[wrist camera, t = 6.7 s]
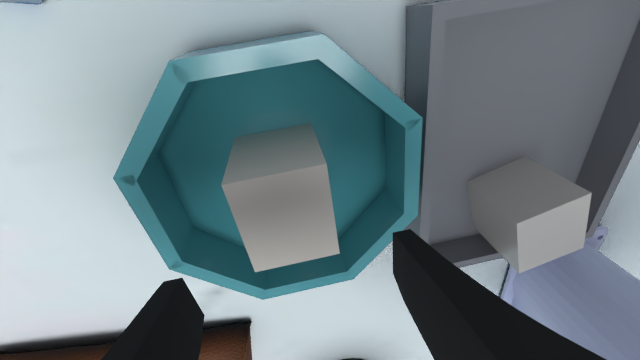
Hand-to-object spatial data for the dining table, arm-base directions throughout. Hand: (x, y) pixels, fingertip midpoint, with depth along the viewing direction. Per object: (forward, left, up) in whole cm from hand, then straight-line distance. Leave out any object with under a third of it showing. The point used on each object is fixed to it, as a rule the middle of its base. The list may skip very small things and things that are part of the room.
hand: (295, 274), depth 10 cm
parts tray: (-1, -14, -8) cm, 16 cm away
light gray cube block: (-5, -14, -7) cm, 17 cm away
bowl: (0, 0, -8) cm, 8 cm away
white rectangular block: (0, 0, -7) cm, 7 cm away
